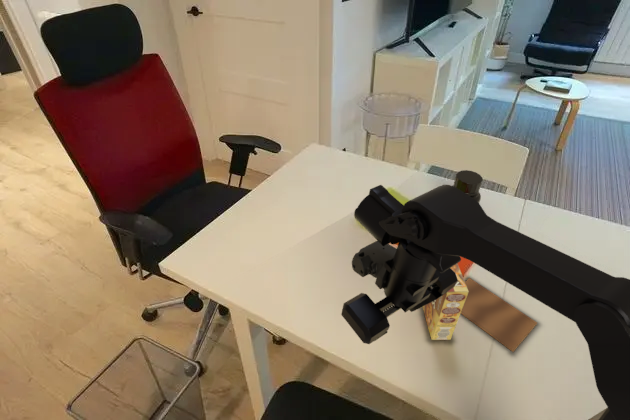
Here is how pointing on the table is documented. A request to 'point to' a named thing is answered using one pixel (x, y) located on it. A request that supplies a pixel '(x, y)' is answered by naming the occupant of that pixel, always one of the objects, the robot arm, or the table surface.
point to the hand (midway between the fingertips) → (390, 322)
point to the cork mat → (496, 316)
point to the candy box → (446, 309)
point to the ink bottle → (469, 183)
